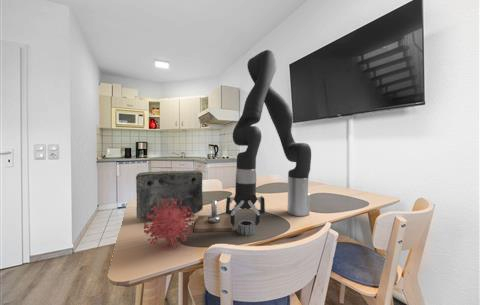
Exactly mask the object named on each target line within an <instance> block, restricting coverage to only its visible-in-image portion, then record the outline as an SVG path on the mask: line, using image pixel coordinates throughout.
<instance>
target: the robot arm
mask: <svg viewBox="0 0 480 305" xmlns="http://www.w3.org/2000/svg"><path fill="white" fill-rule="evenodd" d="M246 68H247V71H248V73H249V76H250V78H251V80H252V81H253V84H254V85H253V86H252V88H251V90H250V91H249V93H248V95H247V97H246V99H245V102H244V106H243V110H242V114H241V116H240V118H239V119H238V121H237V123H236V125H235V126H234V129H233V131H232V141H233V143H234V144H235V145H236V146H239V147H240V146H242V147H243V146H245V147H246V146H247V147H246V150H245V151H242V152H239V153H237V155H236V170H235V171H236V172H235V188H234V189H235V191H234V196H230V195H227V196H226V201H225V202H226V203H225V215H231V224H232V227H234V226H235V220H236V219H235V214H236V213H237V212H238V211H239V210H250V209H252V210H253V212H254V213H255V214H254V223H255V226H258V225H259V224H260V218H261V215H264V214H265V212H266V210H265V209H266V206H265V197H264V196H263V195H260V196H257V172H256V170H257V169H256V168H257V166H256V165H257V156H258V152H259V147H260V145H261V141H262V132H261V130H260V128H259V127H258V126H255V125H256V124H258V123H259V122H260V121H261V117H262V113H263V108H264V105H265V107H266V109H267V112H268V114H269V117H270V119H271V122H272V124H273V126H274V128H275V130H276V133H277V136H278V138H279V141H280V143H281V144H280V145H281V147H282V150H283V153H284V156H285V158H286V159H287V160H288V161H289V162H291V163H295V167H294V168H293V169H289V170H288V173H287V213H288V214H289V215H292V216H295V217H305V216H309V215H310V207H311V194H310V193H309V177H310V176H309V174H310V172H311V163H312V149H311V146H310V145H309V144H308V143H307V142H296V141H295V139H294V137H293V135H292V134H293V133H292V126H293V120H294V118H293V117H294V116H293V112H292V109H291V107H290V105H289V102H288V101H287V99H286V98H285V97H284V96H283V95H281V94H280V93H279V92H277V91H276V90H275V89H274V88H273V87H272V85H271V83H272V81H273V78H274V76H275V73H276V71H277V68H278V60H277V57H276V54H275V53H274V52H273V51H272V50H270V49H266V50H263V51H261V52H259V53H258V54H256V55H255V56H253V57H251V58H250V59H248V61H247V67H246ZM233 201H234V203H235V205H234V206H233V208H232V209H230V207H231V204H232V203H233ZM257 202H258V203H259V206H260V208H259V209H258V208H257V207H256V205H255V204H256V203H257Z"/></svg>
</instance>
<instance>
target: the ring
mask: <svg viewBox="0 0 480 305" xmlns="http://www.w3.org/2000/svg"><path fill="white" fill-rule="evenodd" d="M255 226H256V225H255V221H253V220H248V219H242V220H239V221H238V222H237V231H236V232H237V234H238V235H241V236H245V237H246V236H252V235H254V234H255V232H256V231H255V229H256V228H255Z"/></svg>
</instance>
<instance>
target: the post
mask: <svg viewBox="0 0 480 305" xmlns="http://www.w3.org/2000/svg"><path fill="white" fill-rule="evenodd" d="M217 204H218V201H217V200H216V199H213V200H212V199H211V205H210V206H211V208H210V209H211V211H210V214H209V215H210V216H208V222H209V223H212V224H214V223H219V222H220V216H219V215H220V214H218V213H217V212H218V209H217V208H218V205H217Z"/></svg>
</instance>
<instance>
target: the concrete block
mask: <svg viewBox="0 0 480 305" xmlns="http://www.w3.org/2000/svg"><path fill="white" fill-rule="evenodd" d="M135 181H136V183H135V184H136V185H135V186H136V190H135V191H136V193H135V194H136V219H138V220H148V218H149V220H152V219H153V218H150V217H146V214H148V213H149V214H150V216H151V214H152V215H153V216H156V213H154V212H155V211H153V210H151V209H152V208H153V207H154V206H156V207H157V208H158V210H161V209H160V208H161V207H162V208H163V209H164V207H163V204H164V203H163V204H162V203H161V202H160V201H162V200H164V199H168V198H169V199H168V201H167V200H166V201H164V202H165V206H166V205H169V206H171V204H172V205H174V204H173V202H174V201H173V202H171V199H174V200H175V202H177V203H176V206H177V207H176V208H178V206H179V204H180V201H182V204H180V206H179V209H180V211H181V210H183V208H181V206H183V207H187V206H189V207H190V208H191V210H192V211H190V210H189V208H186V209H188V210H189V213H190V215H189V214H188V216H191V215H194V214H198V213H199V212H202V210H203V208H204V206H203V200H204V198H203V171H201V170H196V169H195V170H164V171H161V170H160V171H145V172H144V171H143V172H139V173H137V174H136V176H135ZM176 199H178V200H177V201H176ZM159 202H160V204H159ZM157 204H159V206H158V205H157ZM160 205H161V206H160ZM173 207H174V206H173ZM167 208H168V207H167ZM170 208H171V207H170ZM155 210H156V209H155ZM188 210H187V211H188ZM157 212H158V211H157ZM191 212H193V213H192V214H191Z"/></svg>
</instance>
